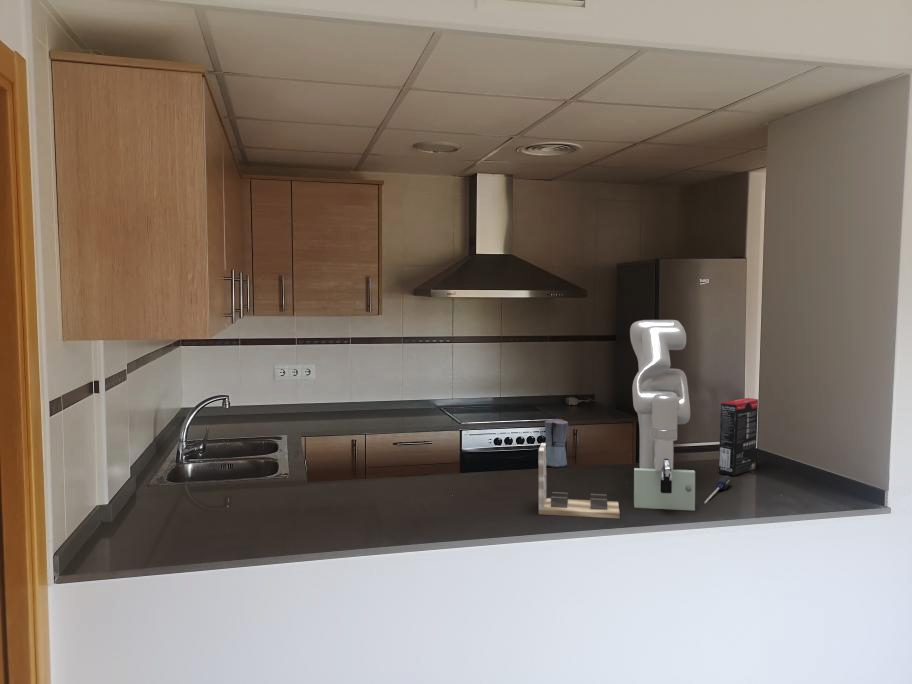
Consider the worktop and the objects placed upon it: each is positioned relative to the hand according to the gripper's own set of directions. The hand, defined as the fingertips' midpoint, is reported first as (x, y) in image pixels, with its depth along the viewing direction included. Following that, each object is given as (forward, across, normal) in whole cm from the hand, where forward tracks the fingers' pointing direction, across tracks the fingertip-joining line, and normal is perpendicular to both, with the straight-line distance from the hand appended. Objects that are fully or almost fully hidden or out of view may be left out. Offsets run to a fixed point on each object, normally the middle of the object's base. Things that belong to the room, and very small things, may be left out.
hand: (664, 488), depth 205 cm
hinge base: (+6, +6, -26) cm, 27 cm away
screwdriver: (+6, -19, +19) cm, 27 cm away
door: (+6, -1, 0) cm, 6 cm away
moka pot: (+5, -50, -36) cm, 62 cm away
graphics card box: (+5, -51, +32) cm, 60 cm away
